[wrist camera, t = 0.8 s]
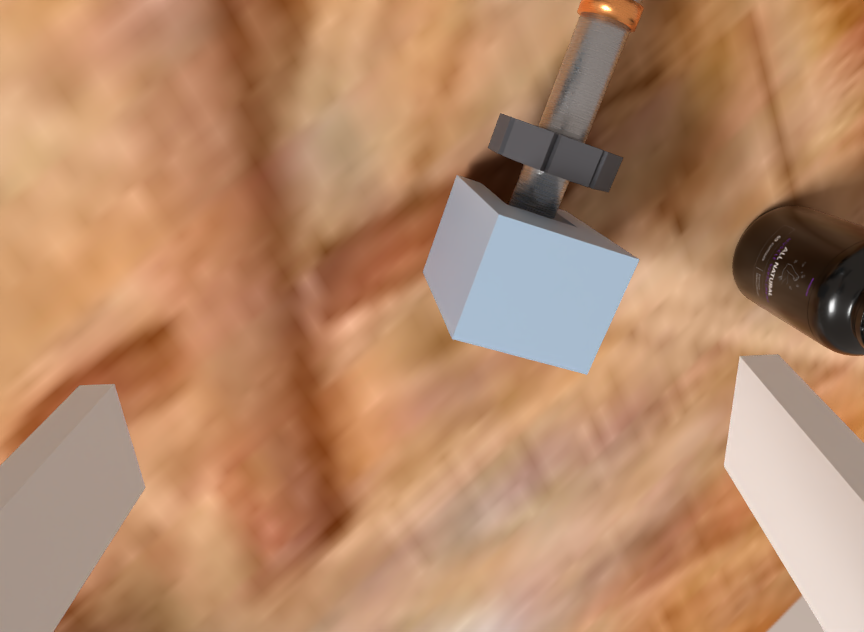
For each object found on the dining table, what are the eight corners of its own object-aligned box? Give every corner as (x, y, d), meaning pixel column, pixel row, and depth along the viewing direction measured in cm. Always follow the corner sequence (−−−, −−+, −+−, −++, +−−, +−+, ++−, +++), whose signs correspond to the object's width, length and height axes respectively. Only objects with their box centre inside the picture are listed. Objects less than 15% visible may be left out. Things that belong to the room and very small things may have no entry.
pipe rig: (521, 304, 42) (556, 349, 36) (418, 274, 40) (435, 316, 34) (697, -129, 35) (781, -170, 28) (578, -188, 33) (640, -247, 26)
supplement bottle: (714, 236, 42) (850, 300, 31) (811, 183, 42) (983, 230, 31) (744, 321, 45) (879, 408, 34) (835, 273, 45) (1001, 345, 34)
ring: (579, 177, 38) (624, 199, 32) (479, 142, 36) (508, 159, 31) (592, 146, 37) (640, 163, 32) (491, 110, 36) (522, 121, 30)
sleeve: (528, 302, 41) (587, 374, 32) (422, 271, 39) (452, 338, 30) (566, 211, 39) (639, 259, 30) (456, 174, 38) (498, 214, 28)
